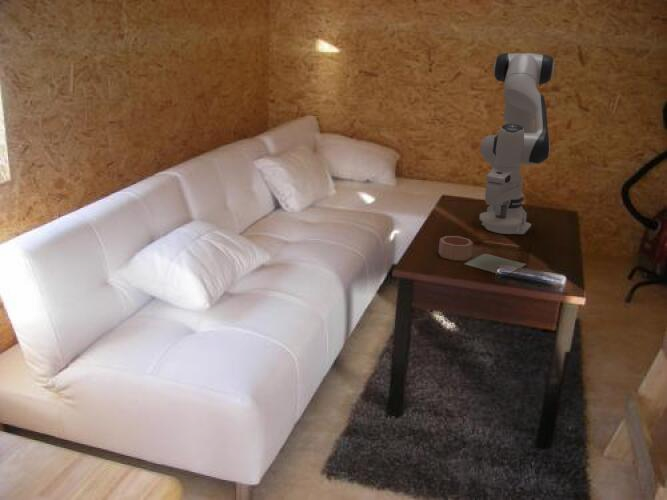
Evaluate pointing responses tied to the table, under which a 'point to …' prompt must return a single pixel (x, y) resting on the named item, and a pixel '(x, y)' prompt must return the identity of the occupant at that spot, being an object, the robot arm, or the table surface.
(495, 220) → the lid
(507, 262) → the mat
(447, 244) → the bowl
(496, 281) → the table surface
